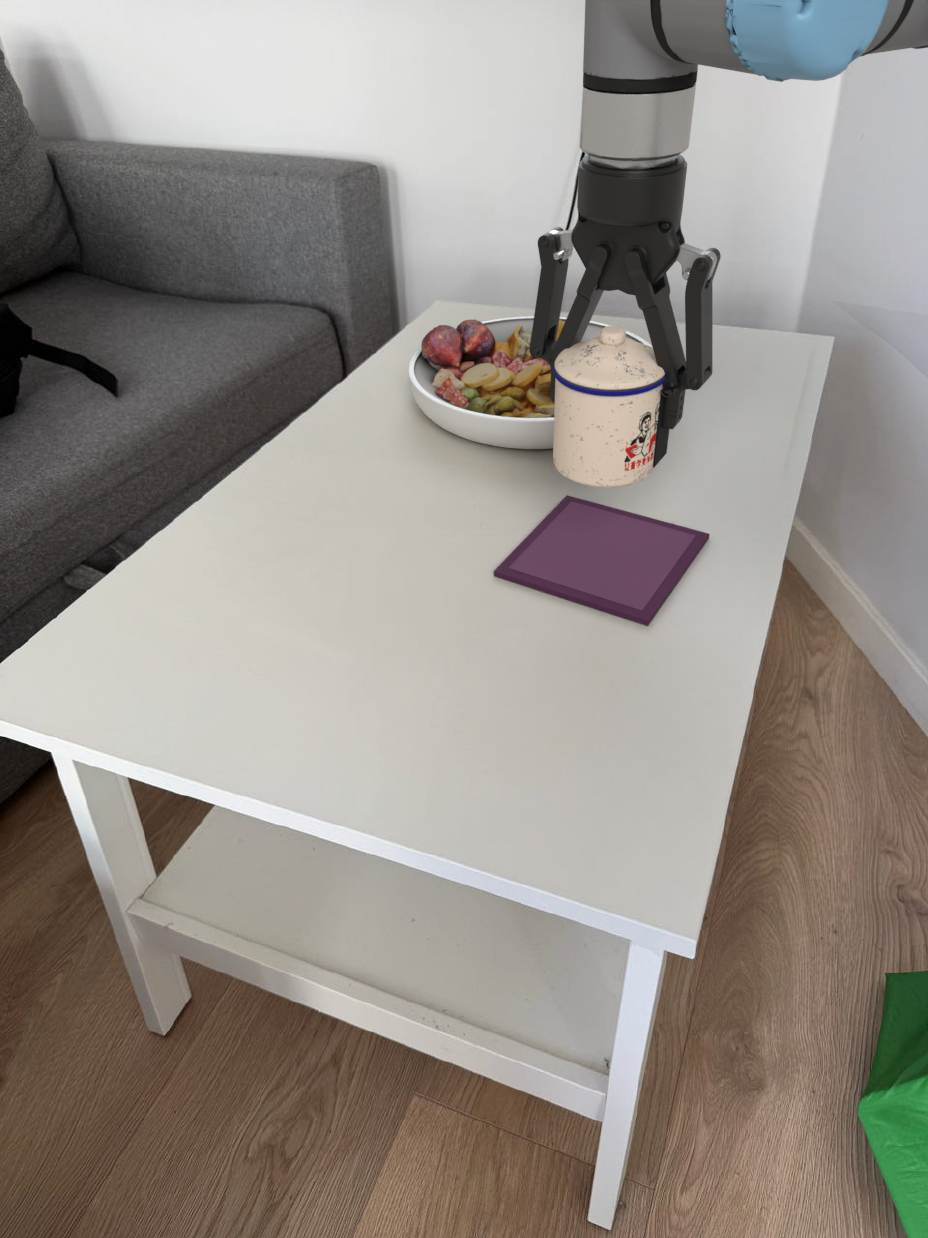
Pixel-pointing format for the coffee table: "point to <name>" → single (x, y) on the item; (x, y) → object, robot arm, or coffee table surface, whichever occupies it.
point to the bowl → (489, 381)
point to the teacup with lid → (606, 410)
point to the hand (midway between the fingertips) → (611, 448)
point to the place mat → (604, 558)
